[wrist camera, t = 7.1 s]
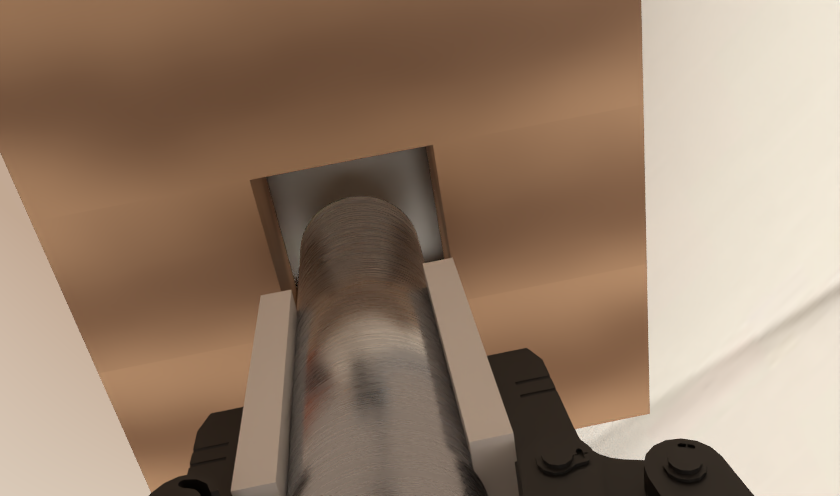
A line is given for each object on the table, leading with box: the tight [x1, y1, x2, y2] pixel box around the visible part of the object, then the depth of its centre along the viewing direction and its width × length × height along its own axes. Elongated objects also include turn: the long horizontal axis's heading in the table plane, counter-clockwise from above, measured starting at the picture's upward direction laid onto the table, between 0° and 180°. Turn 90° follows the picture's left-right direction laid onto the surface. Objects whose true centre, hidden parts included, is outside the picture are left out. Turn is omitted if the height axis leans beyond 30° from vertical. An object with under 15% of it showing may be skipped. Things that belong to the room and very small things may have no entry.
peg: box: [286, 196, 488, 496], centre depth 17 cm, size 4×4×12 cm
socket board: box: [0, 0, 650, 493], centre depth 24 cm, size 18×18×3 cm
